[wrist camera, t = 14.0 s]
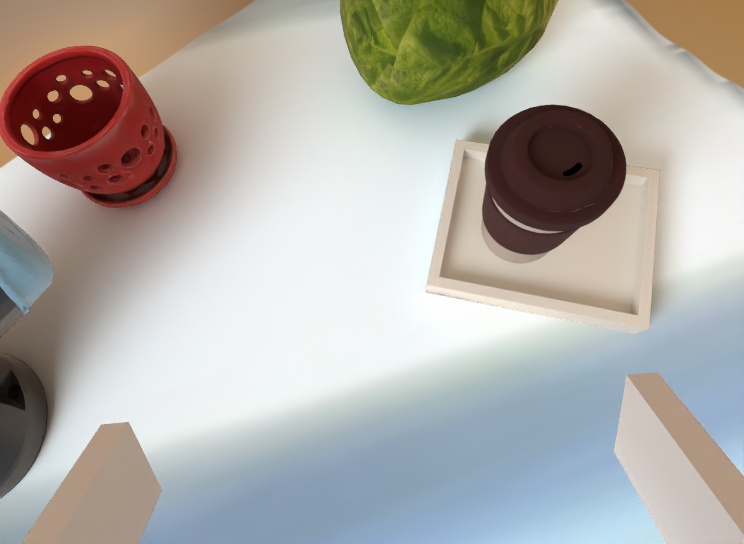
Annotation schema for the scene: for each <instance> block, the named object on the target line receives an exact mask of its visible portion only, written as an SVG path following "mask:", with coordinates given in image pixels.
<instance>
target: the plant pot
mask: <svg viewBox="0 0 744 544" xmlns="http://www.w3.org/2000/svg"><path fill="white" fill-rule="evenodd" d="M84 70H88V71H91V72H92V74H91V75H86V74H83V72H82V71H84ZM105 70H109V71H112V72H113V73H114V74H115V75H116V77H114V76H111V75H109V74H108V73H107V72H105ZM59 75H65V76H66V80H64V81H60V82H59V81H57V80H56V78H57V77H58V76H59ZM98 80H103V81H106V82H107V83H108V84H109V87H102V86H100V85H98V84H97V82H96V81H98ZM76 85H84V86H87V87H88V88H89V89H90V90H91V91H92V93H93V94H92V97H91V98H90V99H88V100H84V101H79V100H76V99H74V98H73V97H72V96H71V95H70V93H69V92H70V89H71V88H72V87H74V86H76ZM120 85H123V88H122V87H121V86H120ZM54 90H56V91H58V94H59V96H58V98H57V99H56V100H55V101H53V102H51V101H49V100H48V98H47V95H48V93H49V92H51V91H54ZM34 109H37V110H38V111H39V117H38V118H37V119H35V118H34V117H33V111H34ZM54 114H59V115H60V116H61V121H60V122H59V123H55V122H54V121H53V116H54ZM22 124H25V125H27V126H28V127H29V128H30V129H31V130H32V132H33V134H34V139H35V143H34V145H31V144H30V143H28V142H27V141H26V140H25V139H24V138H23V136H22V133H21V126H22ZM43 127H48V128H49V129H50V131H51V137H50V139H46V138H45V137H44V136H43V134H42V129H43ZM0 135H1V137H2V139H3V141H4V142H5V143H6V145H7V146H8V147H9V148H10V149H12V151H13V152H15V153H16V154H17V155H18V156H19V157H21V158H22V159H23V160H24V161H26V162H27V163H29V164H30V165H31V166H33V167H34V168H36V169H37V170H39V171H40V172H42V173H44V174H45V175H47V176H49V177H51V178H53V179H55V180H57V181H59V182H61V183H63V184H65V185H68V186H70V187H73V188H75V189H78V190H81V191H82V192H83V194H84V195H85V196H86V197H87V198H89V199H90V200H92V201H93V202H95V203H97V204H100V205H102V206H106V207H114V208H118V207H128V206H133V205H136V204H139V203H141V202H144V201H146V200H148V199H150V198H151V197H152V196H154V195H155V194H157V193H158V192H159V191H160V190H161V189H162V188H163V187H164V186H165V185H166V183H167V182H168V181H169V179H170V177H171V175H172V173H173V171H174V169H175V164H176V159H177V150H176V144H175V141H174V138H173V136H172V135H171V133H170V132H169V130H168V129H167V128H166V127H165V126H164V125H162V122H161V119H160V116H159V114H158V112H157V109H156V107H155V105H154V103H153V101H152V100H151V98H150V96H149V95H148V93H147V91H146V90H145V88H144V87H143V85H142V84H141V82H140V81H139V80H138V78H137V77H136V75H135V74H134V73H133V72H132V70H131V69H130V68H129V66H128V65H127V64H126V63H125V62H124V60H122V59H121V58H120V57H119V56H118V55H116V54H115V53H113V52H111V51H109V50H106V49H104V48H100V47H95V46H74V47H68V48H63V49H60V50H57V51H54V52H52V53H49V54H47V55H45V56H43V57H41V58H39V59H37V60H36V61H34V62H32V63H31V64H30V65H28V66H27V67H26V68H25V69H24V70H22V71H21V72H20V73H19V74H18V75H17V76H16V78H15V79H14V80H13V81H12V82H11V84H10V85H9V86H8V88H7V89H6V91H5V93H4V95H3V97H2V99H1V102H0Z"/></svg>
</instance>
